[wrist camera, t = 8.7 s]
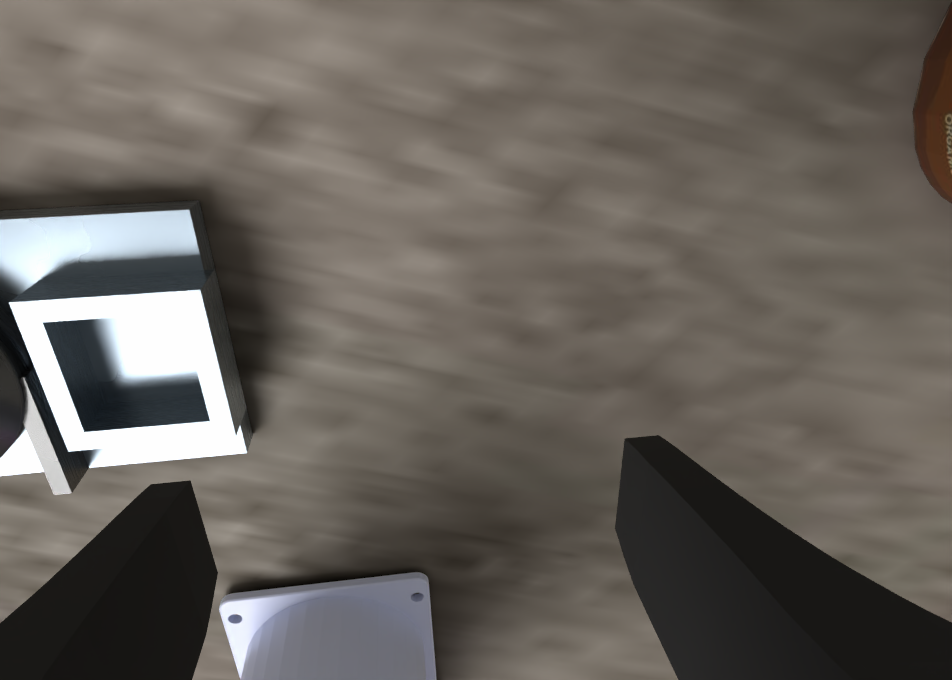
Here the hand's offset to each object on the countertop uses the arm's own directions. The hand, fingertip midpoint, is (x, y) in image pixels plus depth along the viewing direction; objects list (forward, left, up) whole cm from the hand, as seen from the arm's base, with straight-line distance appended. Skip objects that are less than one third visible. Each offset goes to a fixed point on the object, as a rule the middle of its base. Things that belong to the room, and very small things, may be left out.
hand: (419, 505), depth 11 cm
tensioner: (-1, +11, -10) cm, 14 cm away
